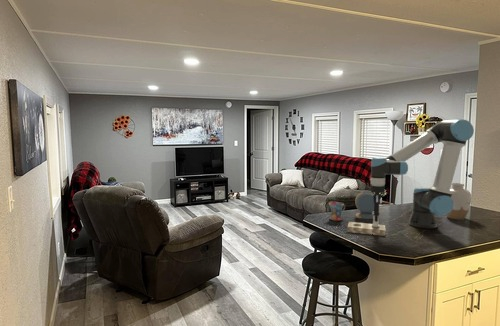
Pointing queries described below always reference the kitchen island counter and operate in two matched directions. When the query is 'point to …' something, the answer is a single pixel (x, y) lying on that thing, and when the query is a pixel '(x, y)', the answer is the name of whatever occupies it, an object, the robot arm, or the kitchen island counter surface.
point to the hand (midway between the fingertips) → (375, 225)
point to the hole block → (366, 228)
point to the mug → (336, 211)
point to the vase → (459, 202)
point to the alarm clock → (365, 204)
